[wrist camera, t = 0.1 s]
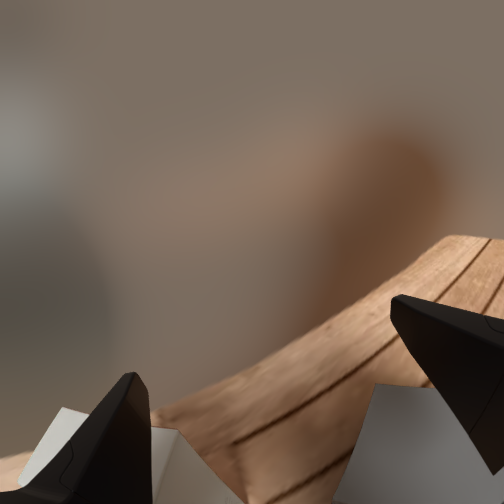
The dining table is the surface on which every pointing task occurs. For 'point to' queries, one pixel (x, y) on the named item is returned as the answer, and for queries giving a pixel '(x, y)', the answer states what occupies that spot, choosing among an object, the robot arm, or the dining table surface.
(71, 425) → the small box
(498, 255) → the dining table surface
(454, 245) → the dining table surface
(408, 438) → the grey drawer housing
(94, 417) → the robot arm
